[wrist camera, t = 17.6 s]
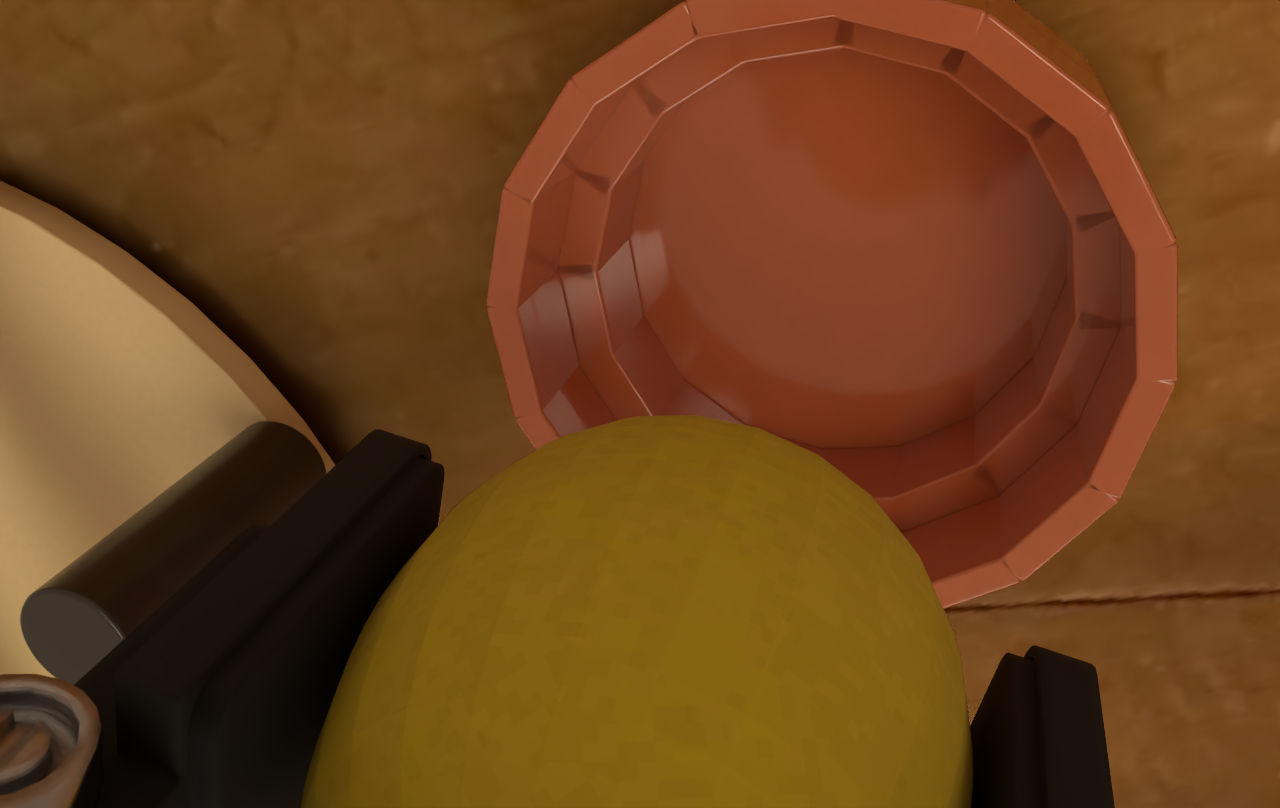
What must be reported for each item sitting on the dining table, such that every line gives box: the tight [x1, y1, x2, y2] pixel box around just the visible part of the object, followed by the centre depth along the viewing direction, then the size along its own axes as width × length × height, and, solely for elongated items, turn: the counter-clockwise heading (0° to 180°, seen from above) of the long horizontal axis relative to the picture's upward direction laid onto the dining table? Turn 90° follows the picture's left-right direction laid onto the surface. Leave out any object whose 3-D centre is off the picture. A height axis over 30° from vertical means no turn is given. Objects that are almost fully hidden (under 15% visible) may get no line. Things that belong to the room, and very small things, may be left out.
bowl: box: [486, 0, 1178, 609], centre depth 21 cm, size 11×11×5 cm
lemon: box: [301, 415, 973, 808], centre depth 10 cm, size 6×6×8 cm
